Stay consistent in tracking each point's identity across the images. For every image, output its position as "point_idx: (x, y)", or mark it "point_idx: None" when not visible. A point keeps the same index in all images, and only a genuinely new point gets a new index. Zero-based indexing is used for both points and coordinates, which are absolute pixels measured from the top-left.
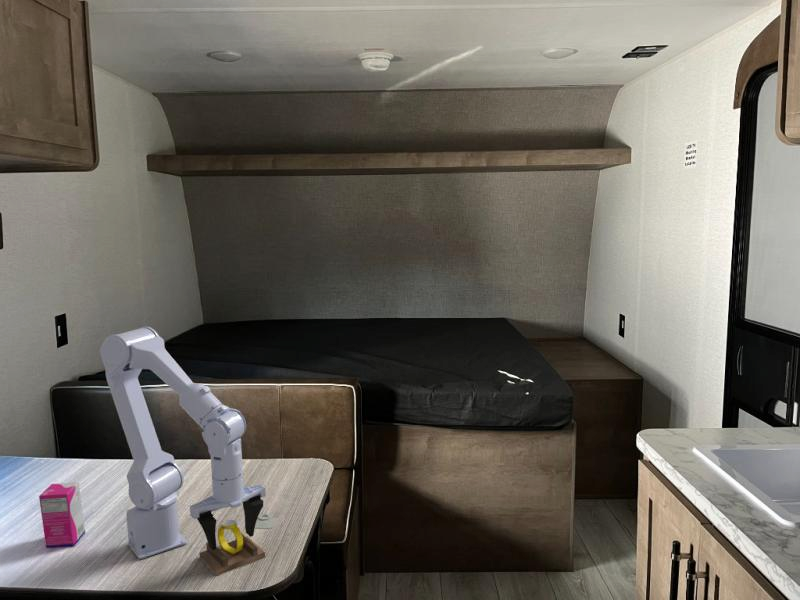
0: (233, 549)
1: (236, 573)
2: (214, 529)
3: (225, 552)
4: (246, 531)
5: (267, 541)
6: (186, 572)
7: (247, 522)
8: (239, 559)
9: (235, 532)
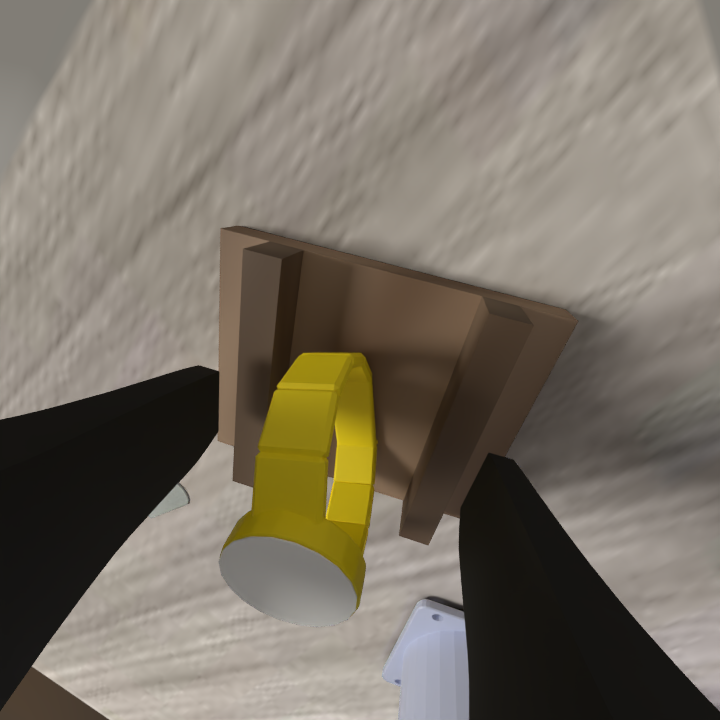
0: (343, 403)
1: (472, 217)
2: (606, 668)
3: (384, 421)
4: (209, 433)
5: (161, 344)
6: (614, 466)
7: (147, 473)
8: (384, 295)
9: (312, 449)
